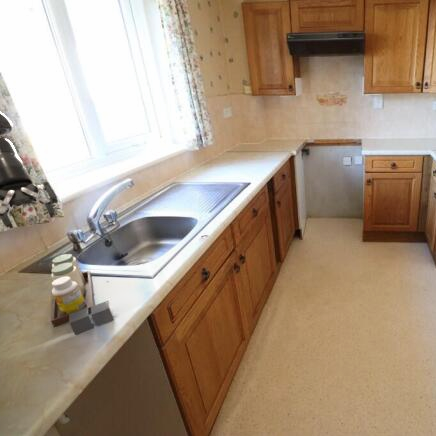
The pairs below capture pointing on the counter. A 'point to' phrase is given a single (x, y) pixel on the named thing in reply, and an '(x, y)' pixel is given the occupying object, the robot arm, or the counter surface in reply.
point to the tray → (60, 319)
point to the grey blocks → (84, 319)
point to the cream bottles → (68, 270)
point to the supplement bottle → (67, 295)
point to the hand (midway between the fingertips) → (32, 221)
